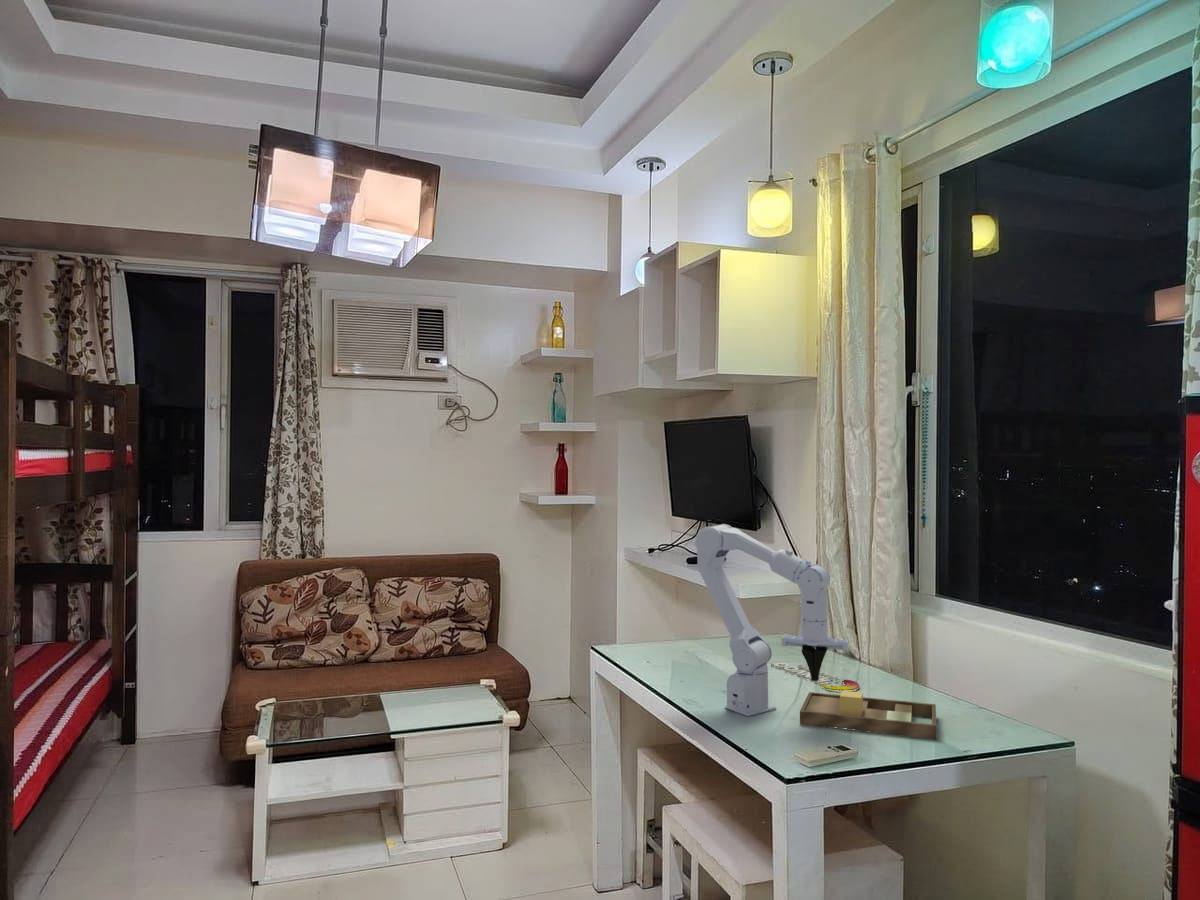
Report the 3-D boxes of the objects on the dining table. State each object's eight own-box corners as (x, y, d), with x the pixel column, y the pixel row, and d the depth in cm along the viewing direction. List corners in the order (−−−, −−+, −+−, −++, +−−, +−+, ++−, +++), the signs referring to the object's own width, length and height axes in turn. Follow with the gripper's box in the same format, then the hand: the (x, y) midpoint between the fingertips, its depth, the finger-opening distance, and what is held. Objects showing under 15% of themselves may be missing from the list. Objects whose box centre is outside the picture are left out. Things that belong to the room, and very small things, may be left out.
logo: (867, 686, 208) (836, 691, 204) (867, 690, 208) (836, 695, 204) (794, 660, 235) (765, 664, 231) (794, 663, 235) (766, 668, 231)
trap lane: (799, 724, 182) (799, 711, 182) (809, 704, 196) (809, 691, 196) (936, 739, 171) (936, 725, 171) (935, 717, 186) (935, 704, 186)
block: (839, 714, 181) (839, 696, 181) (841, 708, 185) (841, 690, 185) (861, 716, 179) (861, 698, 179) (862, 710, 183) (862, 692, 183)
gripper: (778, 620, 184) (779, 681, 184) (846, 625, 179) (846, 687, 179) (784, 614, 191) (784, 673, 191) (848, 618, 185) (849, 679, 185)
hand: (815, 679), depth 185 cm, fingers closed
